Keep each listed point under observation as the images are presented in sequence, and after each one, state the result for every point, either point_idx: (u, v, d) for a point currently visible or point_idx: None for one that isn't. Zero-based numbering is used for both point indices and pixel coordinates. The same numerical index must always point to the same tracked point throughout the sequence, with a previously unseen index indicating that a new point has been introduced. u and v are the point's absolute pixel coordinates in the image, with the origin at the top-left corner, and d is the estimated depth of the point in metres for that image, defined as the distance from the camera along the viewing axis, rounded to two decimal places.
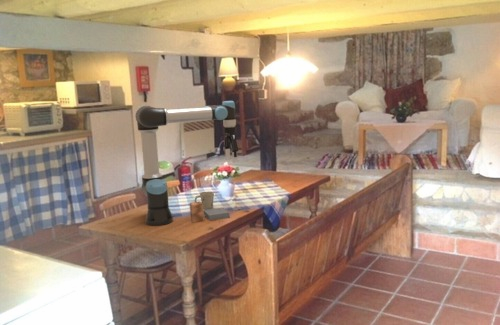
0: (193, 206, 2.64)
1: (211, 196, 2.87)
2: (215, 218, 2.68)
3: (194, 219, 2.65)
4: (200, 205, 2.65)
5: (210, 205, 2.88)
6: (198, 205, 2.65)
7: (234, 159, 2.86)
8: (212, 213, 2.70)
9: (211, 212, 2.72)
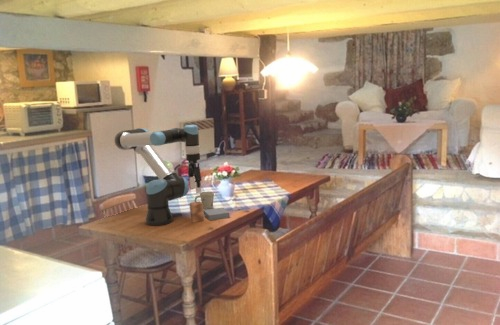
0: (193, 206, 2.64)
1: (211, 196, 2.87)
2: (215, 218, 2.68)
3: (194, 219, 2.65)
4: (200, 205, 2.65)
5: (210, 205, 2.88)
6: (198, 205, 2.65)
7: (197, 189, 2.58)
8: (212, 213, 2.70)
9: (211, 212, 2.72)
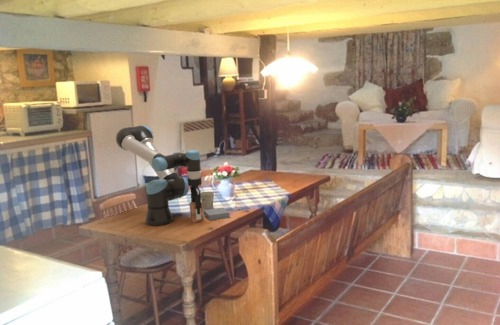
0: (193, 206, 2.64)
1: (211, 196, 2.87)
2: (215, 218, 2.68)
3: (194, 219, 2.65)
4: None
5: (210, 205, 2.88)
6: None
7: (197, 216, 2.65)
8: (212, 213, 2.70)
9: (211, 212, 2.72)
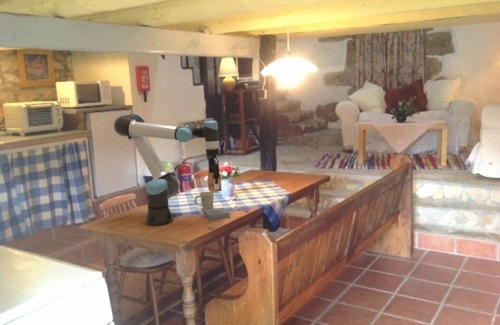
0: (211, 176, 2.67)
1: (211, 196, 2.87)
2: (215, 218, 2.68)
3: (212, 189, 2.68)
4: None
5: (210, 205, 2.88)
6: None
7: (215, 186, 2.68)
8: (212, 213, 2.70)
9: (211, 212, 2.72)
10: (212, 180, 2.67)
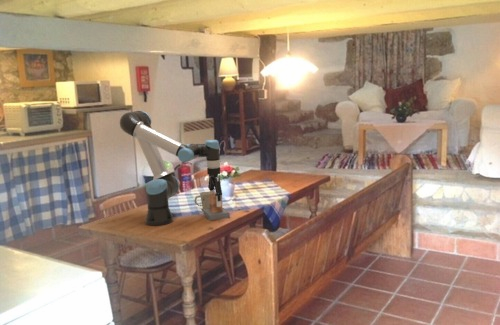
0: (212, 197, 2.69)
1: None
2: (215, 218, 2.68)
3: (213, 210, 2.70)
4: None
5: None
6: None
7: (218, 203, 2.67)
8: (212, 213, 2.70)
9: (211, 212, 2.72)
10: (213, 201, 2.69)
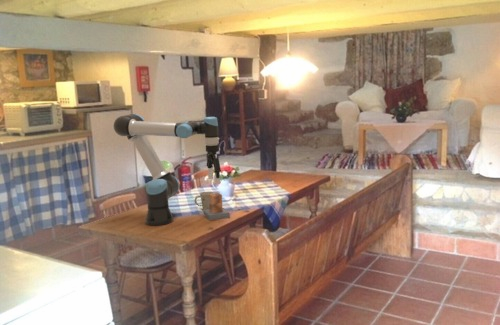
0: (212, 197, 2.69)
1: None
2: (215, 218, 2.68)
3: (213, 210, 2.70)
4: (219, 196, 2.70)
5: None
6: (217, 196, 2.70)
7: (216, 180, 2.64)
8: (212, 213, 2.70)
9: (211, 212, 2.72)
10: (213, 201, 2.69)
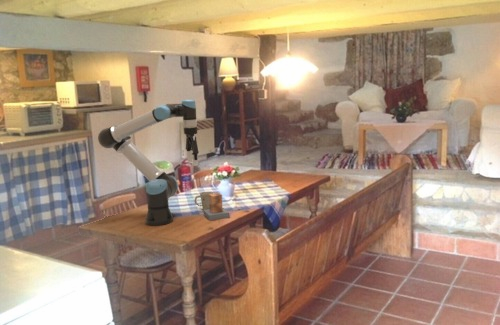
0: (212, 197, 2.69)
1: None
2: (215, 218, 2.68)
3: (213, 210, 2.70)
4: (219, 196, 2.70)
5: None
6: (217, 196, 2.70)
7: (194, 162, 2.66)
8: (212, 213, 2.70)
9: (211, 212, 2.72)
10: (213, 201, 2.69)
